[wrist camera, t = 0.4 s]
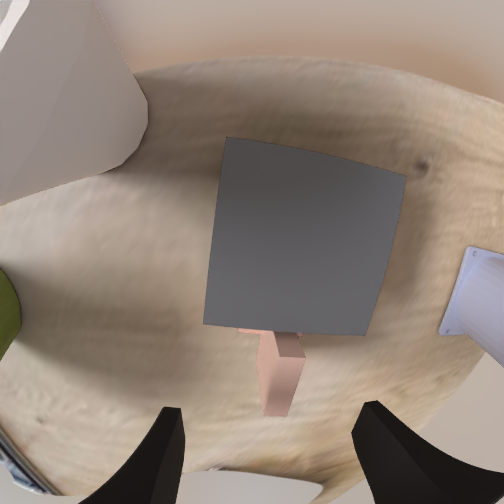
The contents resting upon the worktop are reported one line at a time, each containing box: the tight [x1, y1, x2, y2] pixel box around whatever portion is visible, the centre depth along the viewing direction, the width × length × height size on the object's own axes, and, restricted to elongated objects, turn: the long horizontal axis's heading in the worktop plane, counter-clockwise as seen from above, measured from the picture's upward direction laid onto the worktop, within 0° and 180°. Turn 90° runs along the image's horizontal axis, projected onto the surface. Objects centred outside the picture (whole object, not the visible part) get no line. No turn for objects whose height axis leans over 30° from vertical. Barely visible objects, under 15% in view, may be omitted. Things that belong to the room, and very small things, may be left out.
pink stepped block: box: [238, 328, 306, 417], centre depth 14 cm, size 4×10×5 cm, turn 171°
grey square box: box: [203, 137, 407, 336], centre depth 15 cm, size 8×8×5 cm
